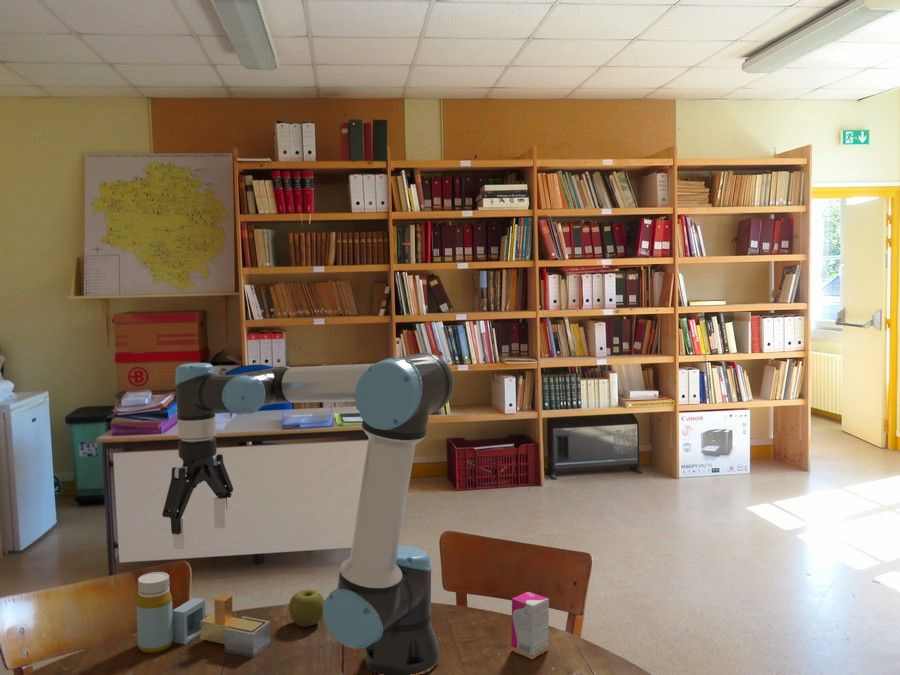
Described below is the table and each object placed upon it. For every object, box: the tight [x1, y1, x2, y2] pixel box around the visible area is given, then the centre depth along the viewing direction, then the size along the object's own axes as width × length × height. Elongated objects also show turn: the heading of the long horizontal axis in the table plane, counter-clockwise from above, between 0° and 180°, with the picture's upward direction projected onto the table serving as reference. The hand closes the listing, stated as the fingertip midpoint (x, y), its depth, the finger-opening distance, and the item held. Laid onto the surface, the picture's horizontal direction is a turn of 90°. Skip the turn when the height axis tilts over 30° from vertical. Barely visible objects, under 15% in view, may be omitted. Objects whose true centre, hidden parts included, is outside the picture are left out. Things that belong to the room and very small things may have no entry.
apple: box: [288, 589, 325, 628], centre depth 177 cm, size 8×8×7 cm
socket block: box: [172, 597, 207, 645], centre depth 171 cm, size 3×7×7 cm, turn 159°
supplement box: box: [510, 591, 550, 655], centre depth 164 cm, size 6×6×12 cm
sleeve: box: [224, 616, 272, 659], centre depth 166 cm, size 7×6×5 cm
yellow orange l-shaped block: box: [200, 594, 263, 645], centre depth 167 cm, size 13×4×9 cm, turn 69°
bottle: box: [136, 571, 174, 654], centre depth 166 cm, size 7×7×15 cm
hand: (201, 537), depth 165 cm, fingers open, 13 cm apart
